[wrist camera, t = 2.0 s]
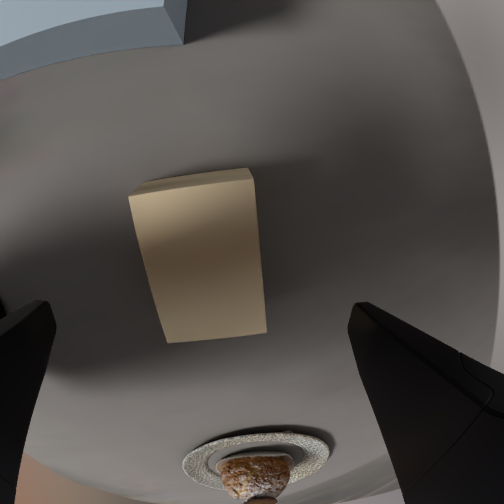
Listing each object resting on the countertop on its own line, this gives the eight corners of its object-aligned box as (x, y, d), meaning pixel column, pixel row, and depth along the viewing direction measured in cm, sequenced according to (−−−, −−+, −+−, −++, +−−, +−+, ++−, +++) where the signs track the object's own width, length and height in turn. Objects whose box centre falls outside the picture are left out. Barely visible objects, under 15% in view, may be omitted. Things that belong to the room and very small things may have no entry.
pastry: (184, 416, 18) (181, 475, 14) (349, 416, 20) (368, 465, 16) (181, 479, 22) (181, 519, 18) (302, 478, 24) (310, 515, 20)
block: (259, 298, 14) (267, 332, 12) (174, 307, 14) (167, 343, 12) (247, 166, 12) (253, 179, 9) (145, 180, 11) (127, 196, 9)
